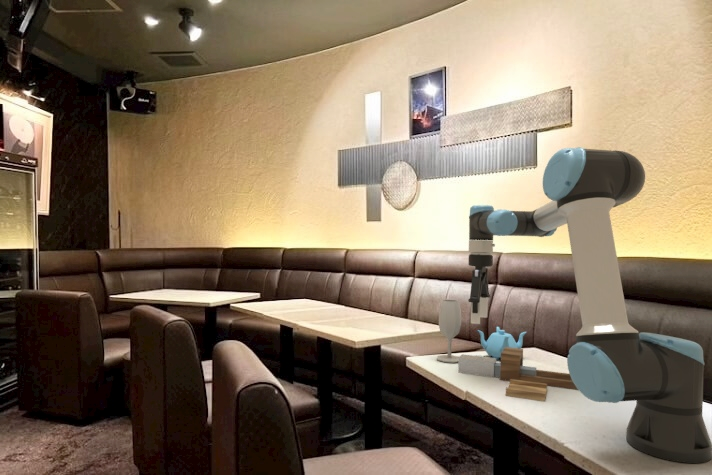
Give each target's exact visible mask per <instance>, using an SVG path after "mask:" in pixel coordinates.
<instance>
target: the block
mask: <svg viewBox="0 0 712 475" xmlns="http://www.w3.org/2000/svg"><path fill="white" fill-rule="evenodd" d="M458 357H459V361H458V362H457V364H458V367H457V368H458V369H457V370H458V373H459V374H466V375H473V376H481V377H489V378H495V377H494V365H495V364H496V363H497V360H496V358H493V357H490V356H489V357H487V356H479V355H472V354H464V353H463V354H461V355H459V356H458Z"/></svg>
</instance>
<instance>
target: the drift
mask: <svg viewBox="0 0 712 475" xmlns="http://www.w3.org/2000/svg"><path fill="white" fill-rule="evenodd" d="M500 370H501V362H496V364H495V365H494V377H493V378H500ZM536 370H537V367H536V366H535V367H534V366H527V365H523V366H520V374H524V375H531V376H536Z"/></svg>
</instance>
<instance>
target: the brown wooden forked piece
mask: <svg viewBox="0 0 712 475" xmlns="http://www.w3.org/2000/svg"><path fill="white" fill-rule="evenodd" d="M500 363H501V370H500V377H499V380H501V381H507V382H508V381H509V382H510V379H514V380H522V381H529V382H537V383H545V384H547V387H552V388H553V387H556V388H562V389H570V390H577V391H580V390H579V389H577V387H576V386H575V384H574V383H573V381H572V379H571V376H570V373H567V372H558V371H557V372H556V371H550V370H543V369H536V376H531V375H524V374H520V366H524V348H521V349H519V348H510V347H505V348H504V350H503V351H502V352H501V358H500Z"/></svg>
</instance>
